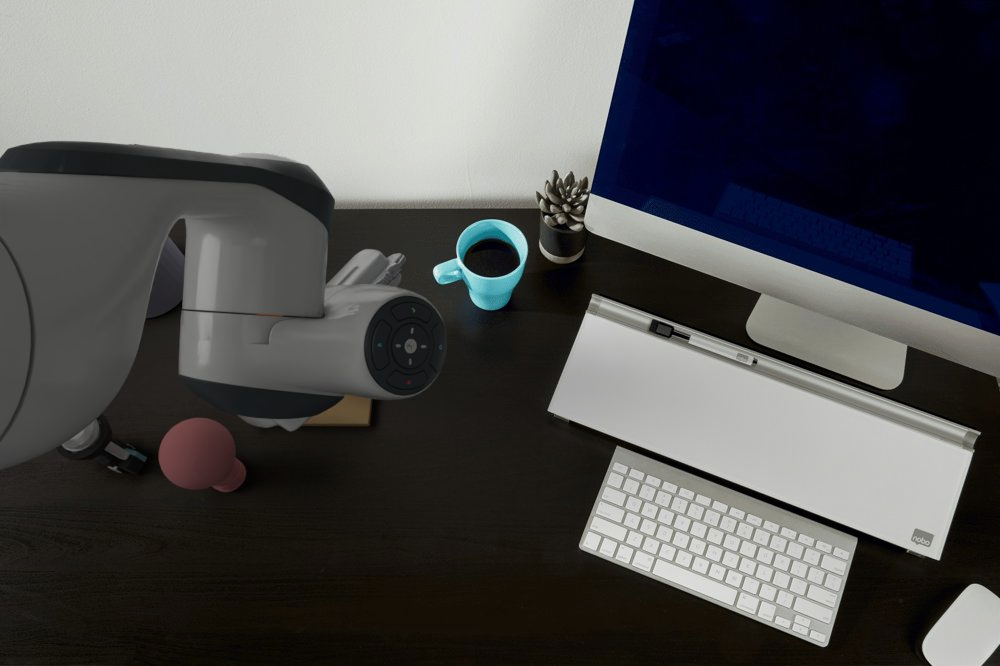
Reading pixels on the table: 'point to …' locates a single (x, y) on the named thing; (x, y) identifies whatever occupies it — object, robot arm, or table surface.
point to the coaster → (344, 413)
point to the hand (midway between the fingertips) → (290, 329)
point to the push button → (102, 448)
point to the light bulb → (201, 456)
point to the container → (167, 281)
